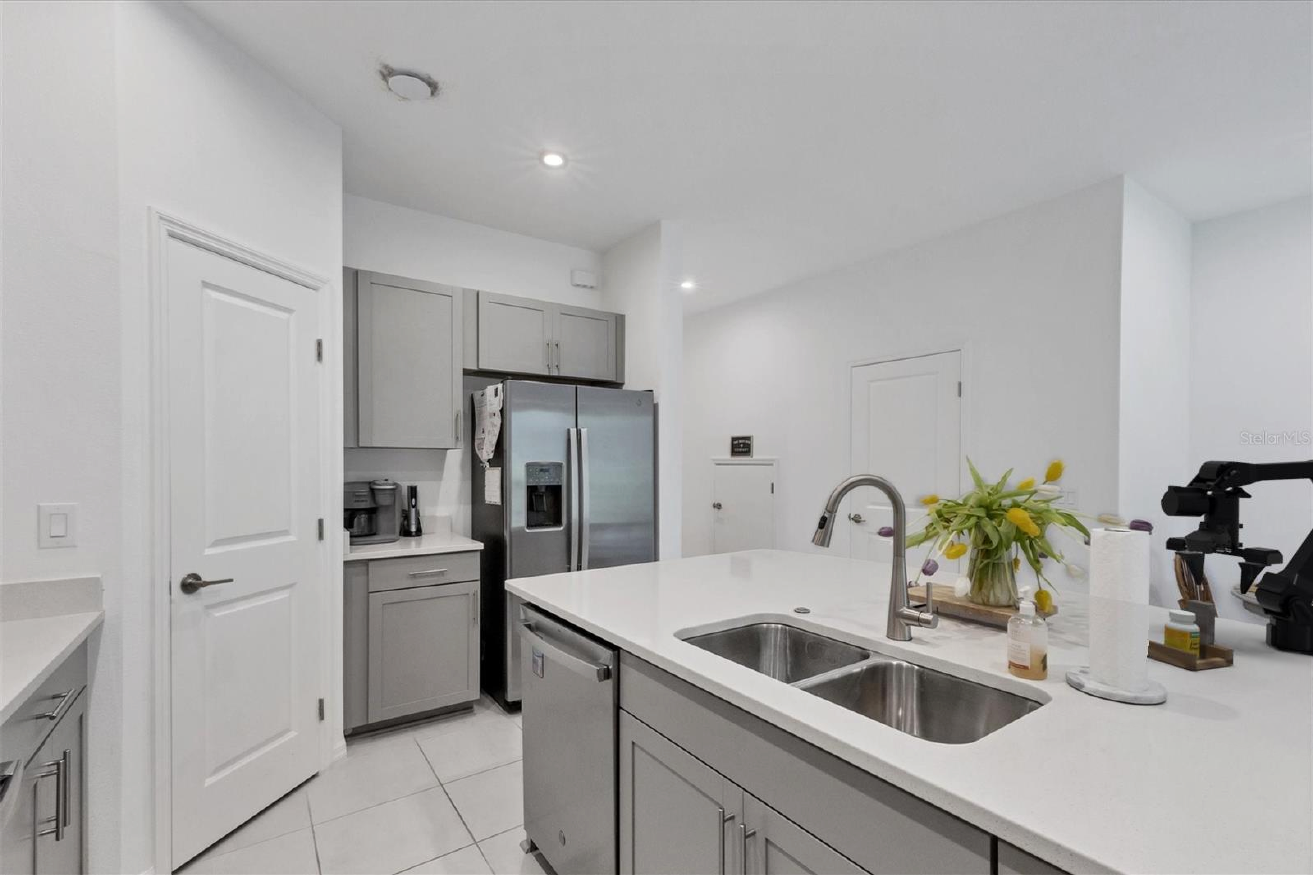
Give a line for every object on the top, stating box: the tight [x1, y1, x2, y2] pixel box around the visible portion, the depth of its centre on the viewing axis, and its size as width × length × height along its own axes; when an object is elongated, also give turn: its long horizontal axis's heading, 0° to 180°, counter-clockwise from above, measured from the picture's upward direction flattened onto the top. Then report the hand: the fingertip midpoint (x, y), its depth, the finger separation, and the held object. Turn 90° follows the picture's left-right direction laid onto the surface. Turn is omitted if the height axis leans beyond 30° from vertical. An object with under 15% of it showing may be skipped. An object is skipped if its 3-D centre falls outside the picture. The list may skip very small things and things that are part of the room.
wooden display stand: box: [1147, 599, 1235, 671], centre depth 123 cm, size 12×10×11 cm
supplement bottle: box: [1163, 609, 1200, 660], centre depth 123 cm, size 5×5×10 cm
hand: (1220, 589), depth 134 cm, fingers open, 8 cm apart
